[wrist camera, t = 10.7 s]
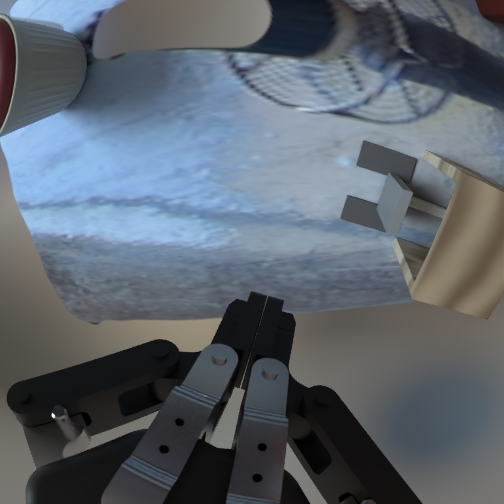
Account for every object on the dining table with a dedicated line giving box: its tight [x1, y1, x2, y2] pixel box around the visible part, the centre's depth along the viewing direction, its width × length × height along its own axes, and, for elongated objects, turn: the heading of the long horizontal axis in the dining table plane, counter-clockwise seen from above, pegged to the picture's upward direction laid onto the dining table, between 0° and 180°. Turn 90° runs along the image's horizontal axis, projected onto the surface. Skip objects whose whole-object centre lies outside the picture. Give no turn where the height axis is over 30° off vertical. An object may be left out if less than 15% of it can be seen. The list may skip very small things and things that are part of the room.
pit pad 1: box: [340, 195, 386, 232], centre depth 38 cm, size 3×7×1 cm, turn 79°
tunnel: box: [393, 150, 504, 319], centre depth 30 cm, size 11×13×12 cm
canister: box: [0, 13, 87, 137], centre depth 28 cm, size 18×18×21 cm
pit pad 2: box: [357, 141, 416, 183], centre depth 34 cm, size 3×7×1 cm, turn 79°
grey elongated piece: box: [377, 172, 447, 236], centre depth 31 cm, size 27×8×8 cm, turn 79°
